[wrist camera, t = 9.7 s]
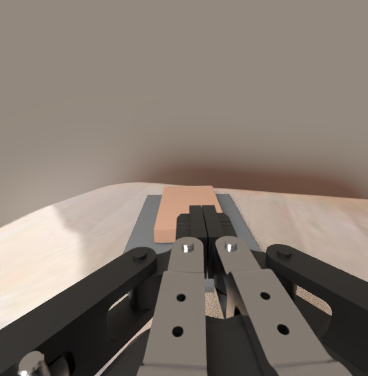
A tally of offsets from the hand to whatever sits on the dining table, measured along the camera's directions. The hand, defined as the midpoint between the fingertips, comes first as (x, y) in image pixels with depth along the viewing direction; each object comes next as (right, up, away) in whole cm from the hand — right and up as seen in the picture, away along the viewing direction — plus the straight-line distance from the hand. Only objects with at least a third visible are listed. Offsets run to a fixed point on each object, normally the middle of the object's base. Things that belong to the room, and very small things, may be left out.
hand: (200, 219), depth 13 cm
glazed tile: (0, -4, +13) cm, 14 cm away
